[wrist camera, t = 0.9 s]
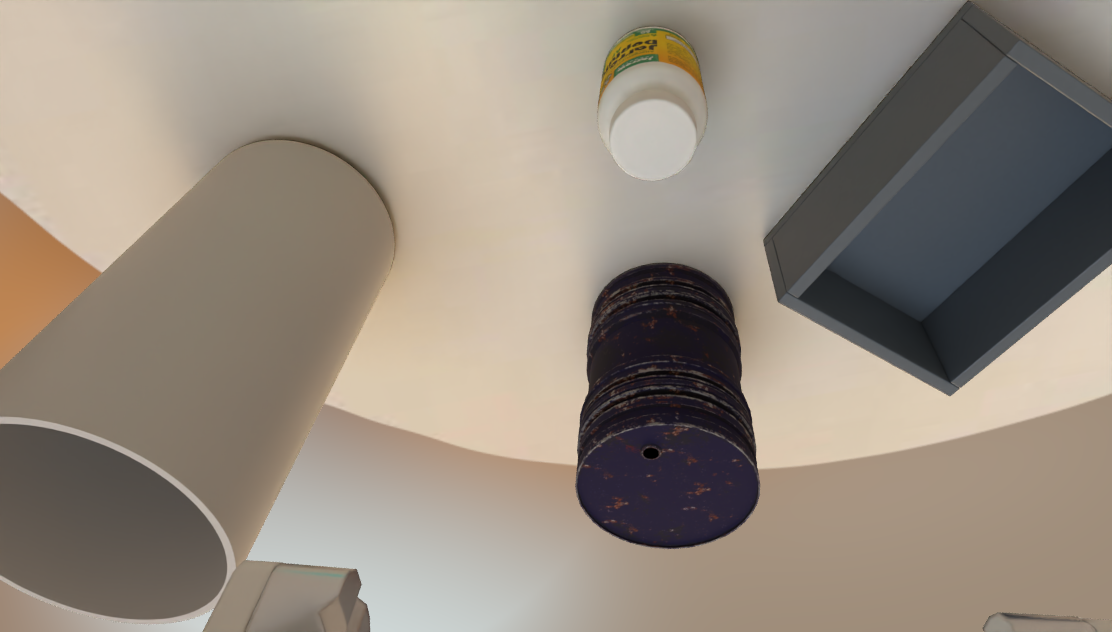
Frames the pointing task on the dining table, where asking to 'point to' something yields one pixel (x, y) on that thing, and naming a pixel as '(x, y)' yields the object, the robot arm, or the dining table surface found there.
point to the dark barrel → (665, 412)
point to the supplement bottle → (652, 103)
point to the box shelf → (955, 208)
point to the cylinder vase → (186, 387)
